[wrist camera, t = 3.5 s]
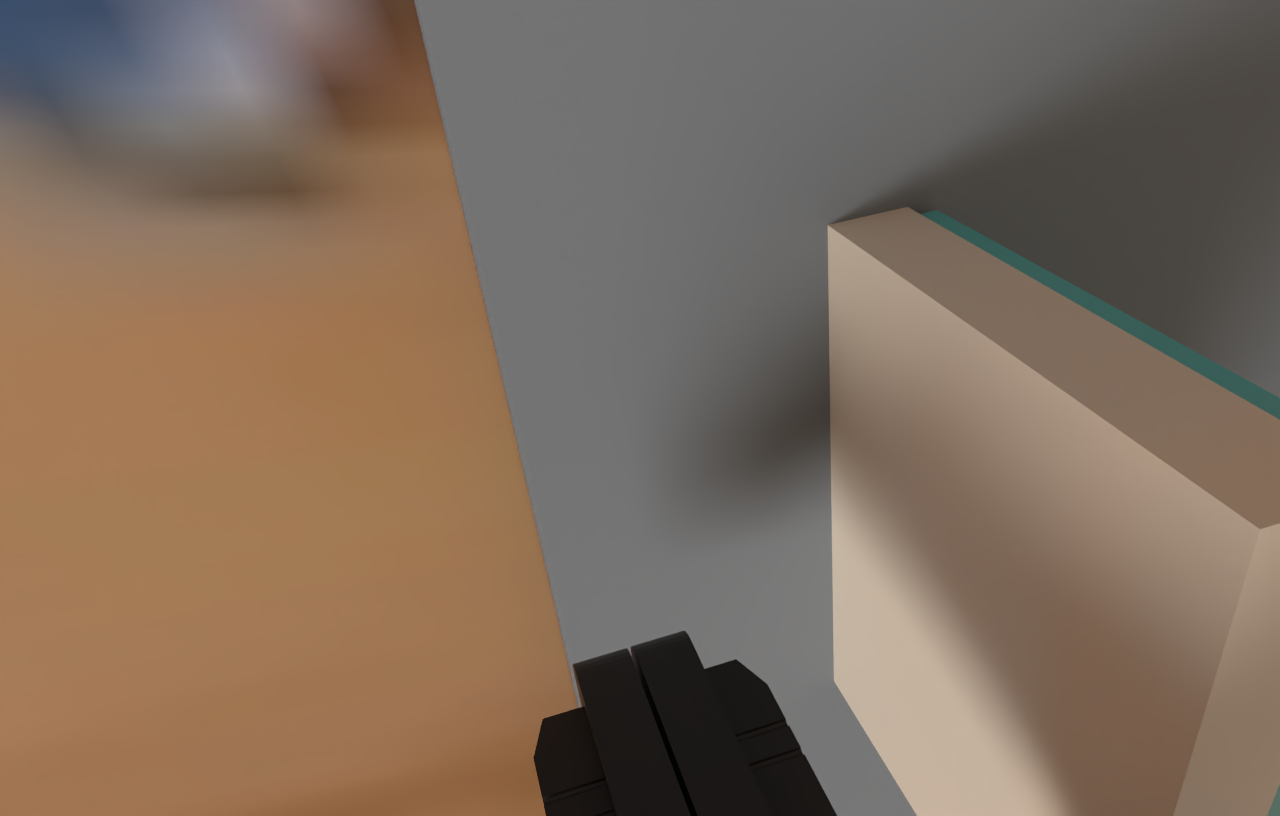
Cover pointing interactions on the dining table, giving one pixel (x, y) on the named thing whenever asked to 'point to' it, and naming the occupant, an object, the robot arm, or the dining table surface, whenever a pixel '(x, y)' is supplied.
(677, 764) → the robot arm
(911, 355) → the tile
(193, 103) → the dining table surface
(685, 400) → the mat
